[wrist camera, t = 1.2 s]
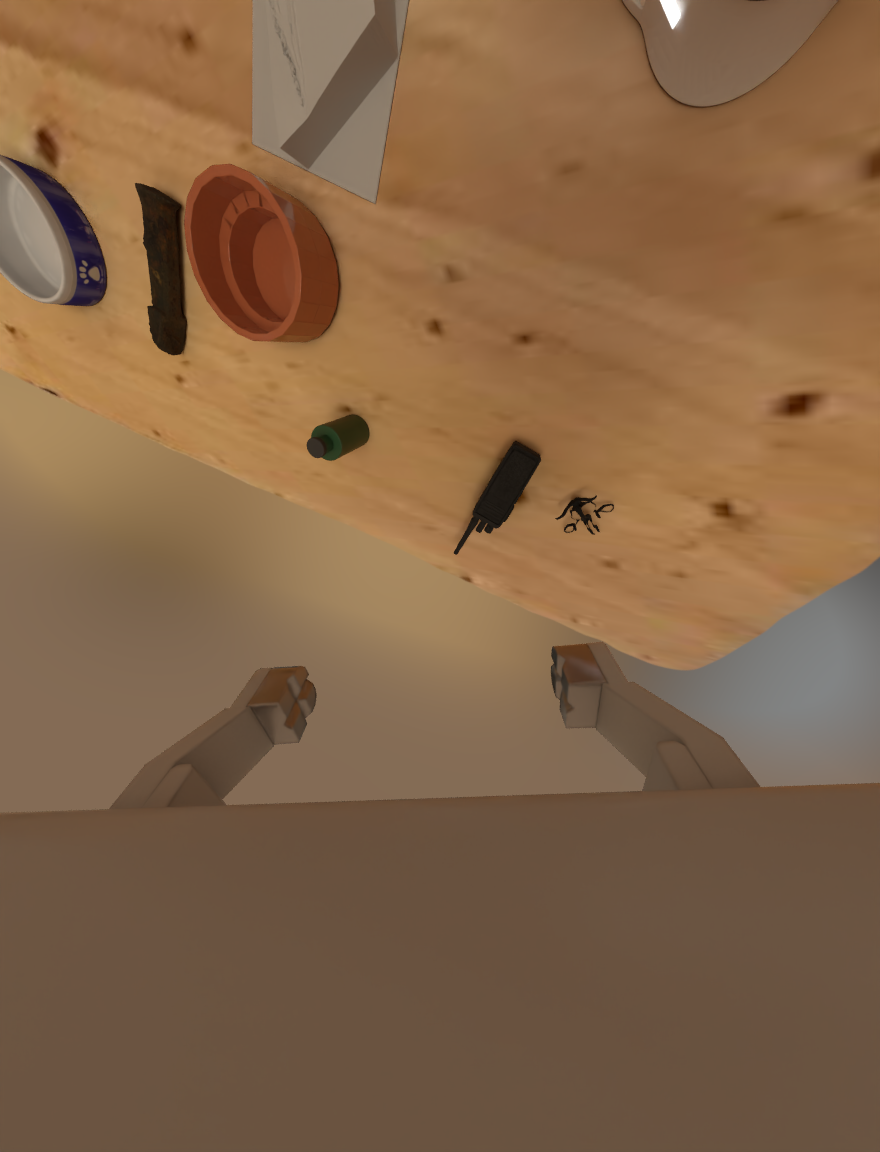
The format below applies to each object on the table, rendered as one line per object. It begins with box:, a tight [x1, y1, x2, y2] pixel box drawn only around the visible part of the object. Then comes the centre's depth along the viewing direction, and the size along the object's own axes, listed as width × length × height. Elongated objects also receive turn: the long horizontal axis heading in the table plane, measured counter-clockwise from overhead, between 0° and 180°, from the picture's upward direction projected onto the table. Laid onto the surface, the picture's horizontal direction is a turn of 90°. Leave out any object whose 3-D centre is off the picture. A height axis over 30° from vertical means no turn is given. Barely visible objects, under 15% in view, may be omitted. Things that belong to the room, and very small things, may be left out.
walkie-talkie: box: [454, 441, 541, 555], centre depth 52 cm, size 6×6×20 cm
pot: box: [184, 164, 339, 342], centre depth 41 cm, size 15×15×9 cm
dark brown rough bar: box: [135, 183, 186, 355], centre depth 48 cm, size 19×4×5 cm, turn 153°
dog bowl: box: [0, 155, 106, 306], centre depth 48 cm, size 15×15×6 cm
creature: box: [555, 496, 614, 535], centre depth 50 cm, size 8×5×8 cm
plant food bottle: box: [307, 415, 369, 461], centre depth 50 cm, size 5×5×12 cm
